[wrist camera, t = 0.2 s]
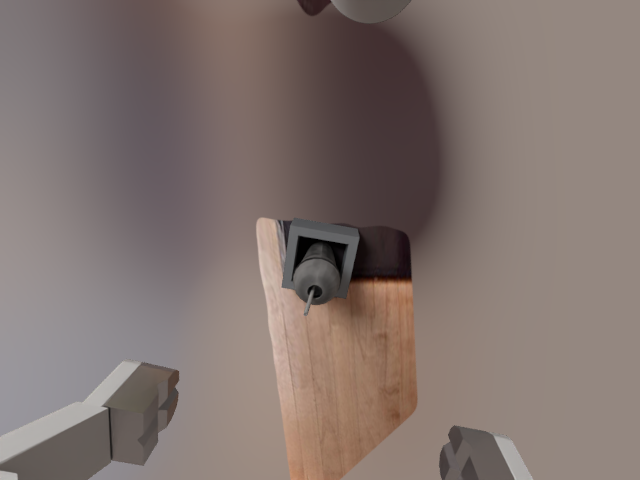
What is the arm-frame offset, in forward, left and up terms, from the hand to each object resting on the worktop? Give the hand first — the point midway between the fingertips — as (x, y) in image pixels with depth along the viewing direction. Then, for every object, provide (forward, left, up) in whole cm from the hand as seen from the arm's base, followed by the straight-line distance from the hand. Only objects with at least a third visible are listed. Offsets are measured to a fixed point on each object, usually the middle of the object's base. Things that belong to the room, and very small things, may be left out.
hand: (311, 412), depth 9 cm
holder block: (+13, 0, -48) cm, 50 cm away
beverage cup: (+13, 0, -48) cm, 50 cm away
